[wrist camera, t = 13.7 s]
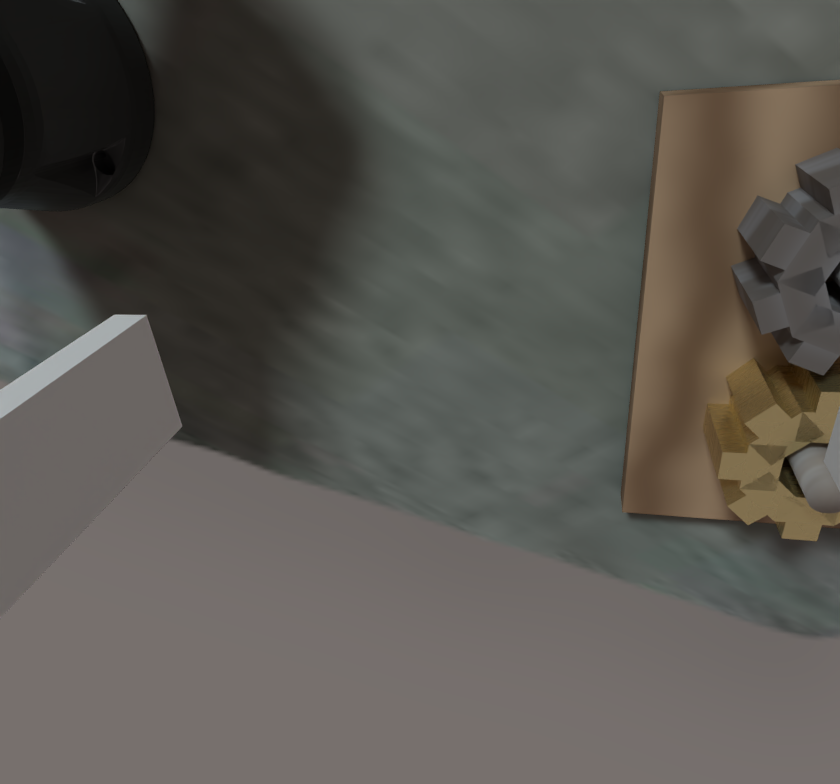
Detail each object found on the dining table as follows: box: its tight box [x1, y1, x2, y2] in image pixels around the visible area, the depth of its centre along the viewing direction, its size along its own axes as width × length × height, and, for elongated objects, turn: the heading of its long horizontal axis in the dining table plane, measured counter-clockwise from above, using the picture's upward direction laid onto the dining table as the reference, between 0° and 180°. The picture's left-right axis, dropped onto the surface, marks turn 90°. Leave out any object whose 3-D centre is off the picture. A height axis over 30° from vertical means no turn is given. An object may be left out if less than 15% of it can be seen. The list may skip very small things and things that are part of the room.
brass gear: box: [703, 358, 840, 541], centre depth 35 cm, size 10×10×5 cm
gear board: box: [621, 80, 840, 528], centre depth 33 cm, size 18×26×9 cm
